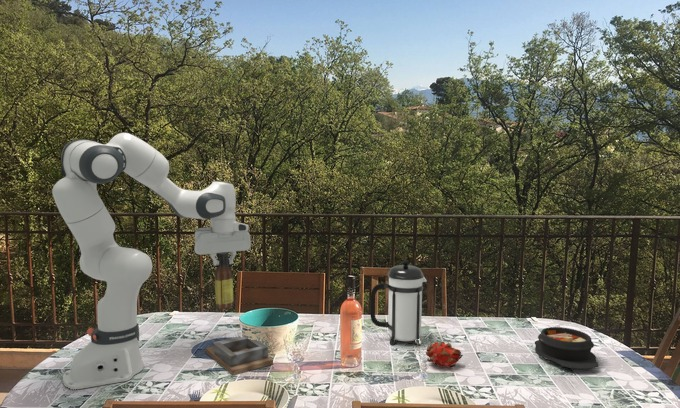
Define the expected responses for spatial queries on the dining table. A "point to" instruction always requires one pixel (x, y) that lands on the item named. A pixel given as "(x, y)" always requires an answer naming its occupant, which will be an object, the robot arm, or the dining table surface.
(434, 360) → the dragon fruit
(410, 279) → the coffee press
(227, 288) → the sauce bottle
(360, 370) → the dining table surface
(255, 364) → the board
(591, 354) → the casserole
